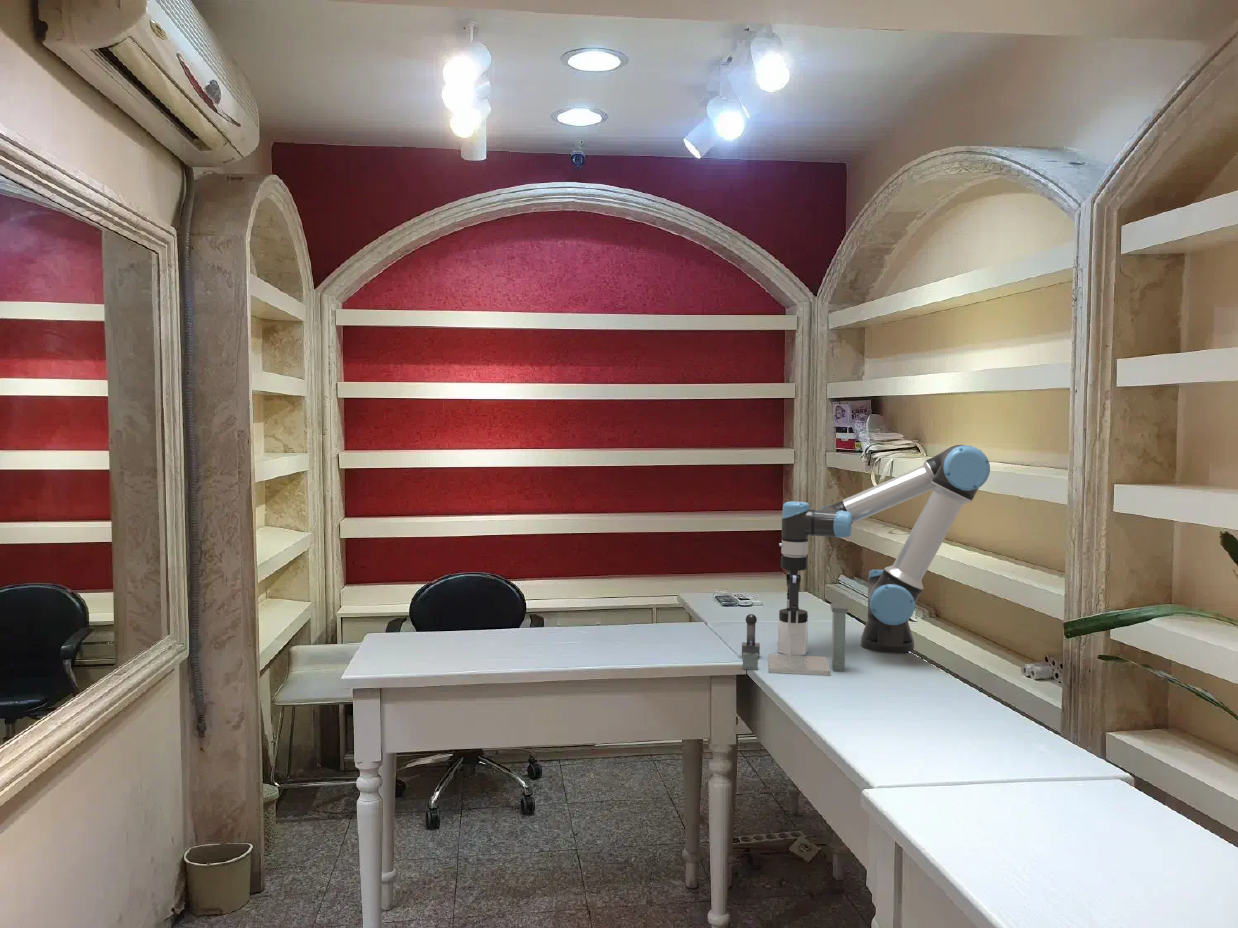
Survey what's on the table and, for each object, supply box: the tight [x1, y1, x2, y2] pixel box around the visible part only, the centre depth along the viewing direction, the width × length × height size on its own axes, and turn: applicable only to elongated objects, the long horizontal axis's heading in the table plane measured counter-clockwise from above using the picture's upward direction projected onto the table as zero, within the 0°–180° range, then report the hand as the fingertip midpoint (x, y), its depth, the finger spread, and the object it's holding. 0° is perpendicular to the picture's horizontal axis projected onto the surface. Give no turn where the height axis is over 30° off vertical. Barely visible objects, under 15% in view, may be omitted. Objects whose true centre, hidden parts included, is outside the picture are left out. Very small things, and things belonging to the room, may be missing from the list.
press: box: [742, 602, 849, 676], centre depth 241 cm, size 28×17×17 cm, turn 81°
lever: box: [741, 613, 761, 656], centre depth 249 cm, size 5×4×11 cm
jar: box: [777, 608, 809, 656], centre depth 254 cm, size 9×8×12 cm
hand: (791, 628), depth 254 cm, fingers open, 13 cm apart
